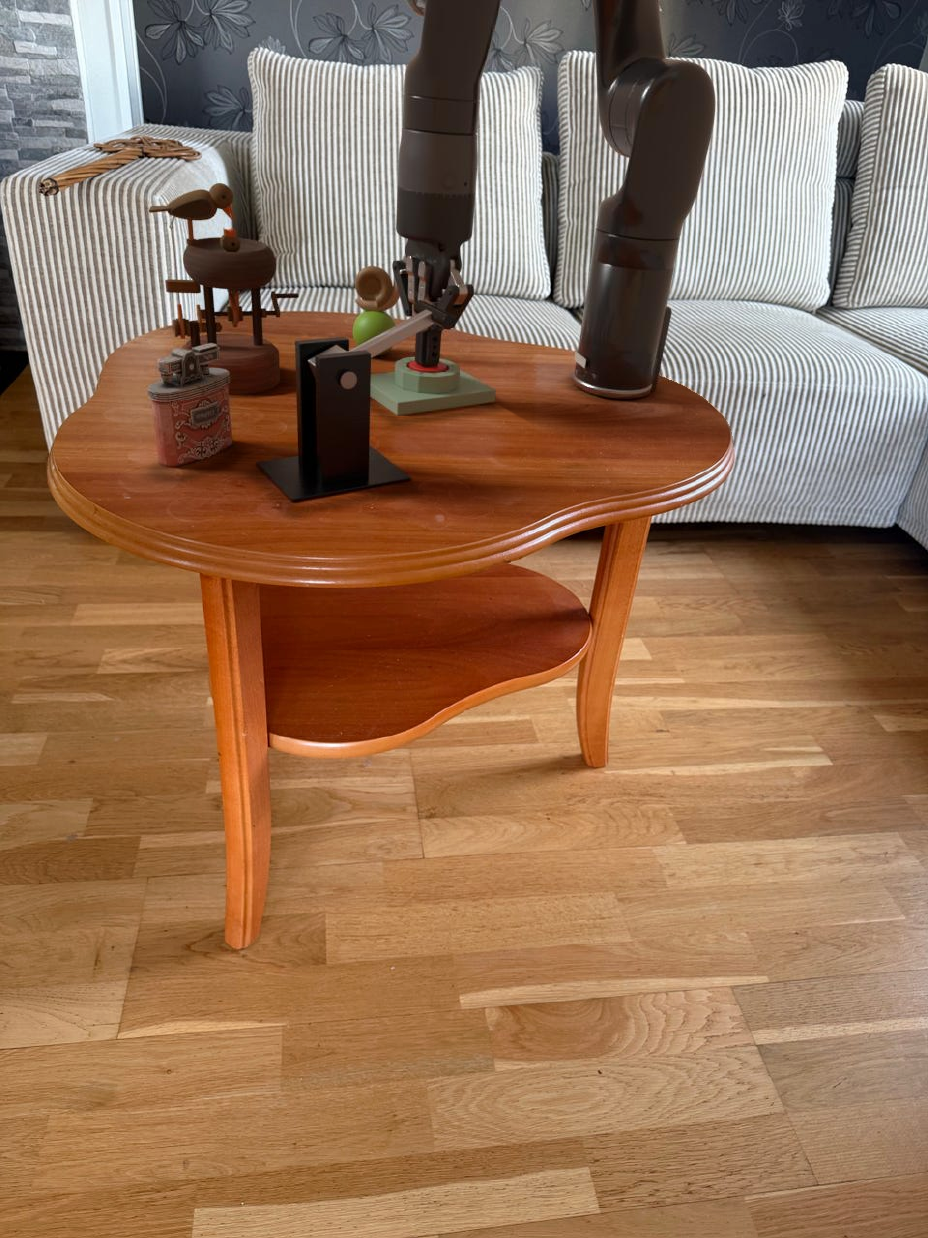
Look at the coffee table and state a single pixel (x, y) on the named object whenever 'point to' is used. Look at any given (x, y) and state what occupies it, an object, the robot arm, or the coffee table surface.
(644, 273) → the robot arm
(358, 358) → the bracket
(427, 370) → the button
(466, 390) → the button box
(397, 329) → the lever
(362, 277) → the snail figurine
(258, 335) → the bird automaton
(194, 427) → the lighter
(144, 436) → the coffee table surface
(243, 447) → the coffee table surface
